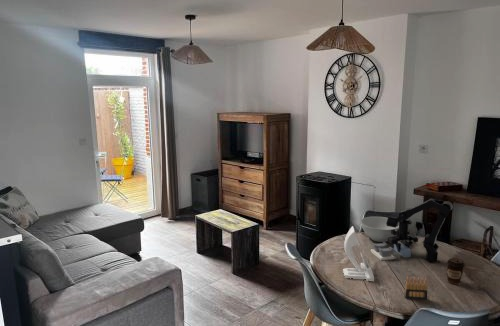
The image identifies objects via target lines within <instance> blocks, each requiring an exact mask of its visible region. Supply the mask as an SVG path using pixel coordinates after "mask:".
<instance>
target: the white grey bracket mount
mask: <svg viewBox="0 0 500 326" xmlns="http://www.w3.org/2000/svg"><path fill="white" fill-rule="evenodd" d="M371 245H373V248H372V249H370V252H371V253H372V254H373V255H374V256H376V258H378V259H379V260H380V261H388V260H394V259H395V256H394V255H393V254H392V251H394V247H392V246H388V243H387V242H380V243H375V242H372V243H371ZM386 246H388V247H386Z"/></svg>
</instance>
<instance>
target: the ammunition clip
mask: <svg viewBox="0 0 500 326" xmlns="http://www.w3.org/2000/svg"><path fill="white" fill-rule="evenodd" d="M428 285H429V284H428V277H427V276H426V277H425V278H424V276H422V277H420V276H418V277H416V276H414V277H413V276H410V277H409V275H408V276H407V277H406V282H405V288H404V295H403V296H404V298H405V299H407V300H409V299H411V300H426V301H427V300H428Z"/></svg>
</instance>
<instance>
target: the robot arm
mask: <svg viewBox="0 0 500 326" xmlns="http://www.w3.org/2000/svg"><path fill="white" fill-rule="evenodd" d="M431 207H432V208H434V209H436V210H437V211H438V217H437V218H436V221H435V223H434V225H433V227H432V229H431V231H430V232H429V233H430V234H428V233H427V234H426V235H425V236H424V240H423V241H422V246H423V247H424V249H425V251H426V253H425V257H423V259H424V260H425V261H427V262H428V263H430V264H432V263H440V260H438V257H439V252H438V250H439V248H440V246H439V245H438V244H437V243H436V242H437V238H438V237H437V236H438V234H439V232H440V230H441V227H442V226H443V224H444V222H445V219H446V218H447V216H448V215H449V214H450V213H451V211H452V209H453V207H454V205H453V203H452V202H451V201H448V200H445V201H444V200H441V199H439V200H438V199H435V198H429V199H428V200H425V201H424V202H422V203H419V204H418V205H417V204H416V205H415V206H414V207H409V208H405V209H402V210H401V211H400V212H399V214H398V216H391V215H389V216H387V218H388V219H387V222H386V225H387V226H390V227H394V228H396V227H398V225H399V229H398V230H397V231H395V230H391V234H392V235H394V237H388V239H387V241H386V242H388V243H390V244H391V245H394V244H395V245H396V247H397V251H398V252H400V247H401V244H400V242H402V241H403V242H404V245H405V246H407V247H408V248H409V249H410V247H411V245H412V244H414V243H419V237H417V236H416V235H414V234H410V231H409V228H410V227H409V225H412V224H413V221H412V220H411V219H410V218H411V217H413V215H415V214H417V213H421V211H424V210H426V209H428V208H431Z"/></svg>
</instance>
